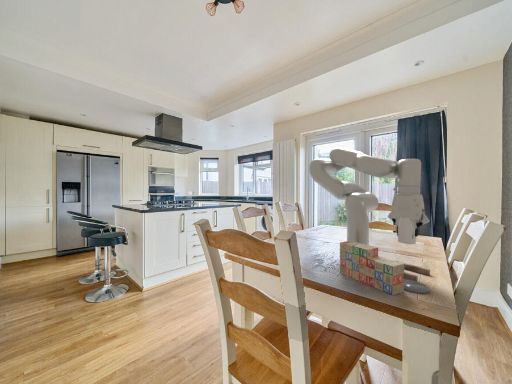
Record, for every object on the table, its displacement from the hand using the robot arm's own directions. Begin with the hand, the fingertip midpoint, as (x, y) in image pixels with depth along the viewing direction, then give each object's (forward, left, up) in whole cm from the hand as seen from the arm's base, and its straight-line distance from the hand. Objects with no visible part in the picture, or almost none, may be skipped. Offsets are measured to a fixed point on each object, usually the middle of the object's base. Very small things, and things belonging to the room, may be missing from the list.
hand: (406, 236), depth 84 cm
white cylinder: (0, 0, -3) cm, 3 cm away
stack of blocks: (-4, -19, -15) cm, 25 cm away
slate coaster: (+7, -12, -15) cm, 20 cm away
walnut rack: (-1, 0, -15) cm, 15 cm away
